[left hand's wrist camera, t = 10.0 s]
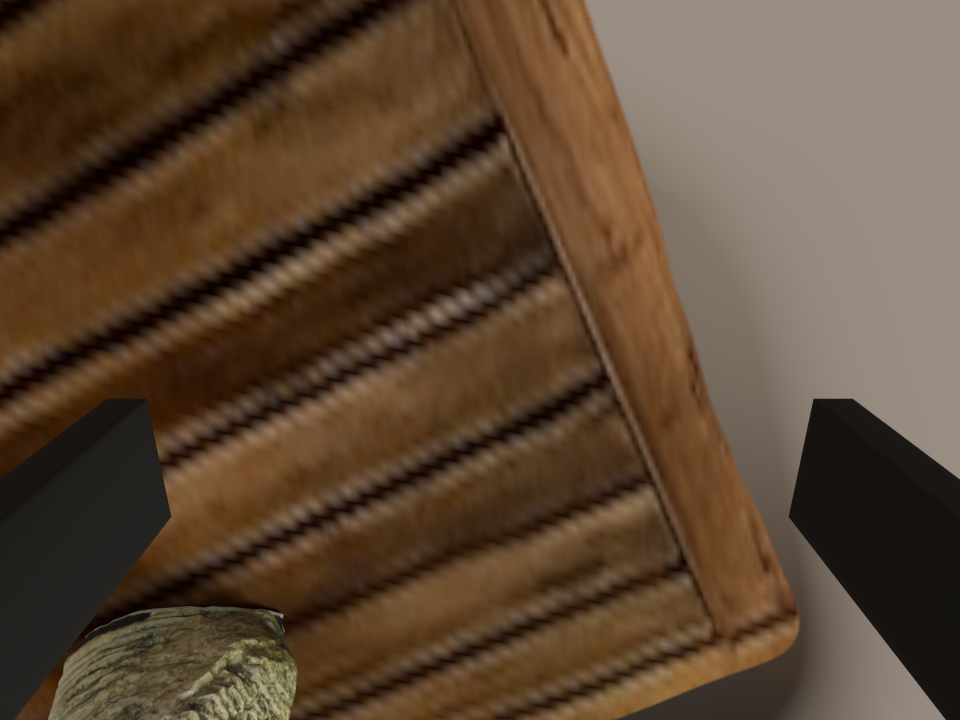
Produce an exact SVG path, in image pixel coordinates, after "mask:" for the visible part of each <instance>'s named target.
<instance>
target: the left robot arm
mask: <svg viewBox="0 0 960 720" xmlns="http://www.w3.org/2000/svg"><path fill="white" fill-rule="evenodd" d="M170 518H171V514H170V509H169V504H168V499H167V495H166V490H165V485H164V480H163V476H162V471H161V466H160V461H159V457H158V452H157V447H156V442H155V438H154V433H153V428H152V423H151V419H150V414H149V409H148V404H147V400H146V399H106V400H105V401H104V402H102V403H101V404H100V405H98V406H97V407H96V408H94V409H93V410H92V411H91V412H89V413H88V414H87V415H85V416H84V417H83V418H81V419H80V420H79V421H77V422H76V423H75V424H73V425H72V426H71V427H69V428H68V429H67V430H65V431H64V432H63V433H61V434H60V435H59V436H57V437H56V438H55V439H53V440H52V441H51V442H49V443H48V444H47V445H45V446H44V447H43V448H41V449H40V450H39V451H37V452H36V453H35V454H33V455H32V456H31V457H29V458H28V459H27V460H25V461H24V462H23V463H21V464H20V465H19V466H17V467H16V468H15V469H13V470H12V471H11V472H9V473H8V474H7V475H5V476H4V477H3V478H2V479H0V720H14V719H15V718H16V717H17V715H18V714H19V713H20V711H21V710H22V709H23V708H24V706H25V705H26V704H27V702H28V701H29V700H30V699H31V697H32V696H33V695H34V693H35V692H36V691H37V690H38V688H39V687H40V686H41V684H42V683H43V682H44V680H45V679H46V678H47V677H48V675H49V674H50V673H51V671H52V670H53V669H54V668H55V666H56V665H57V664H58V662H59V661H60V660H61V659H62V657H63V656H64V655H65V653H66V652H67V651H68V650H69V648H70V647H71V646H72V644H73V643H74V642H75V640H76V639H77V638H78V637H79V635H80V634H81V633H82V631H83V630H84V629H85V628H86V626H87V625H88V624H89V622H90V621H91V620H92V619H93V617H94V616H95V615H96V613H97V612H98V611H99V609H100V608H101V607H102V606H103V604H104V603H105V602H106V600H107V599H108V598H109V597H110V595H111V594H112V593H113V591H114V590H115V589H116V588H117V586H118V585H119V584H120V582H121V581H122V580H123V579H124V577H125V576H126V575H127V573H128V572H129V571H130V569H131V568H132V567H133V566H134V564H135V563H136V562H137V560H138V559H139V558H140V557H141V555H142V554H143V553H144V551H145V550H146V549H147V548H148V546H149V545H150V544H151V542H152V541H153V540H154V539H155V537H156V536H157V535H158V533H159V532H160V531H161V529H162V528H163V527H164V526H165V524H166V523H167V522H168V520H169V519H170ZM789 518H790V519H791V520H792V522H793V523H794V524H795V526H796V527H797V528H798V529H799V531H800V532H801V533H802V535H803V536H804V537H805V538H806V540H807V541H808V542H809V544H810V545H811V546H812V548H813V549H814V550H815V551H816V553H817V554H818V555H819V557H820V558H821V559H822V560H823V562H824V563H825V564H826V566H827V567H828V568H829V569H830V571H831V572H832V573H833V575H834V576H835V577H836V579H837V580H838V581H839V582H840V584H841V585H842V586H843V588H844V589H845V590H846V591H847V593H848V594H849V595H850V597H851V598H852V599H853V600H854V602H855V603H856V604H857V606H858V607H859V608H860V610H861V611H862V612H863V613H864V615H865V616H866V617H867V619H868V620H869V621H870V622H871V624H872V625H873V626H874V628H875V629H876V630H877V631H878V633H879V634H880V635H881V637H882V638H883V639H884V640H885V642H886V643H887V644H888V646H889V647H890V648H891V650H892V651H893V652H894V653H895V655H896V656H897V657H898V659H899V660H900V661H901V662H902V664H903V665H904V666H905V668H906V669H907V670H908V671H909V673H910V674H911V675H912V677H913V678H914V679H915V681H916V682H917V683H918V684H919V686H920V687H921V688H922V690H923V691H924V692H925V693H926V695H927V696H928V697H929V699H930V700H931V701H932V702H933V704H934V705H935V706H936V708H937V709H938V710H939V711H940V713H941V714H942V715H943V717H944V718H945V719H946V720H960V479H958V478H957V477H956V476H954V475H953V474H952V473H951V472H949V471H948V470H947V469H945V468H944V467H943V466H941V465H940V464H939V463H937V462H936V461H935V460H933V459H932V458H931V457H929V456H928V455H927V454H925V453H924V452H923V451H921V450H920V449H919V448H917V447H916V446H915V445H913V444H912V443H911V442H909V441H908V440H907V439H905V438H904V437H903V436H901V435H900V434H899V433H897V432H896V431H895V430H893V429H892V428H891V427H889V426H888V425H887V424H885V423H884V422H883V421H881V420H880V419H879V418H877V417H876V416H875V415H873V414H872V413H871V412H869V411H868V410H867V409H866V408H864V407H863V406H862V405H860V404H859V403H857V402H856V401H855V400H854V399H814V400H813V404H812V409H811V414H810V419H809V423H808V428H807V433H806V438H805V442H804V447H803V452H802V457H801V461H800V466H799V471H798V476H797V480H796V485H795V490H794V495H793V499H792V504H791V509H790V514H789Z"/></svg>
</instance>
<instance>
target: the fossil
mask: <svg viewBox="0 0 960 720" xmlns="http://www.w3.org/2000/svg"><path fill="white" fill-rule="evenodd" d="M282 618H283V614H280V613H276V612H273V611H269V610H264V609H246V608H238V607H217V606H211V607H206V608H202V607H193V606H184V607H171V608H158V609H150V610H142V611H138V612H134V613H131V614H128V615H126V616H124V617H121V618H118V619H115V620H113V621H112V622H110V623H109V624H107V625H103V626H100V627H98V628H96V629H95V630H93V631H92V632H91V633H89V634H88V635H87V636H86V637H85V639H84V640H83V642H82V644H81V645H80V646H79V648H78V649H77V650H76V651H74V652H73V653H72V654H71V655H70V656H68V657H67V658H66V660H65V663H64V667H63V675H62V678H61V679H60V680H59V682H58V689H57V691H56V696H55V699H54V701H53V706H52V709H51V710H50V715H49V719H48V720H289V717H290V712H291V708H292V704H293V701H294V696H295V689H296V684H297V670H298V668H297V665H296V661H295V658H294V656H293V655H292V654H291V653H290V651H289V649H288V648H287V646H286V645H285V643H284V642H283V641H282V635H283V634H284V632H285V631H284V628H283V625H282Z"/></svg>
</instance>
